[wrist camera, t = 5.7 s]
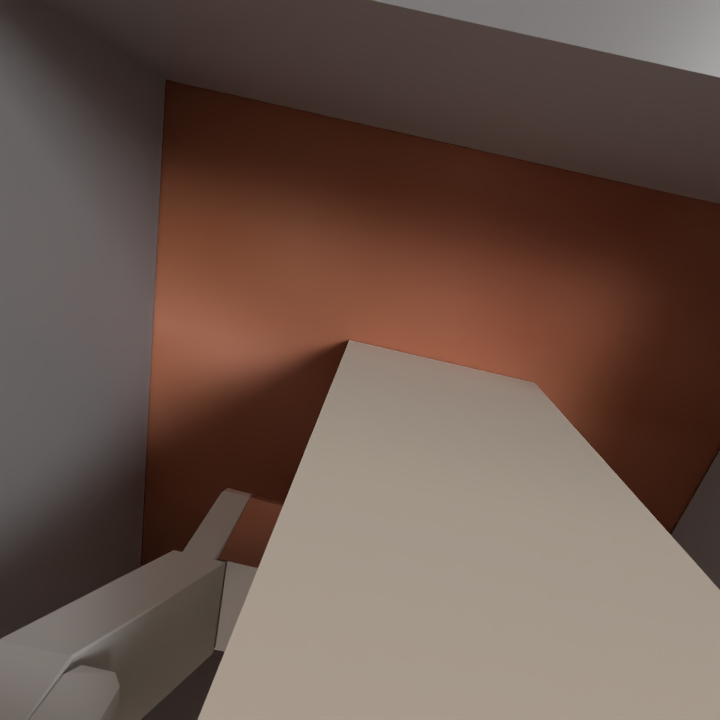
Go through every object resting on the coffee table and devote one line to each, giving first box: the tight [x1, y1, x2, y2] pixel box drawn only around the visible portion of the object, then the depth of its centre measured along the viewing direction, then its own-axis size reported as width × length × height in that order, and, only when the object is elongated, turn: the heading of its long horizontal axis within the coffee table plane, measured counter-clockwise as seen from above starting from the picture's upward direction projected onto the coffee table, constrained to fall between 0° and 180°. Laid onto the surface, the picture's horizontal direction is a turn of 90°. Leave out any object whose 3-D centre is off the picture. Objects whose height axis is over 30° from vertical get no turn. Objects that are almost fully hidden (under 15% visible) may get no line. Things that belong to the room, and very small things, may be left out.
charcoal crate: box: [0, 0, 720, 720], centre depth 8 cm, size 16×17×5 cm
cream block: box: [198, 340, 720, 720], centre depth 7 cm, size 4×6×8 cm
